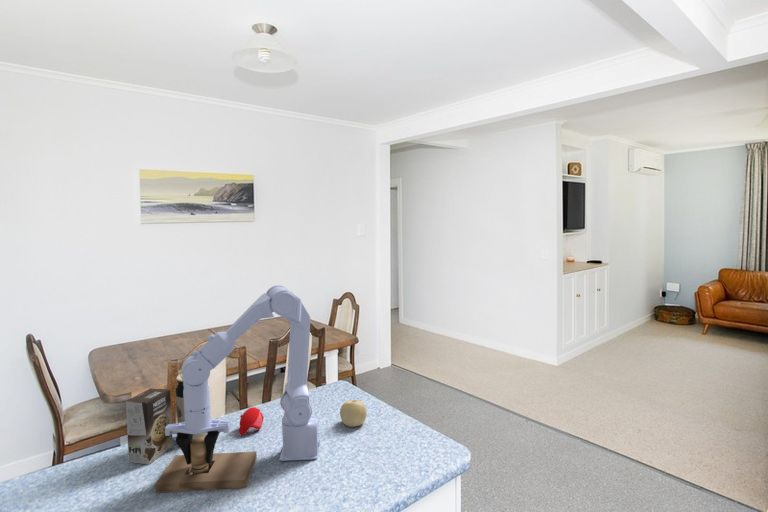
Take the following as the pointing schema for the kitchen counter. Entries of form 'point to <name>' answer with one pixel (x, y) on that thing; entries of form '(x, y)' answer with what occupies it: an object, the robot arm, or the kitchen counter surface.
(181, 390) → the travel mug
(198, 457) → the oak peg
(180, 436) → the robot arm
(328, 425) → the kitchen counter surface
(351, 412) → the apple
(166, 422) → the coffee box
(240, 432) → the cap
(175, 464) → the walnut board
